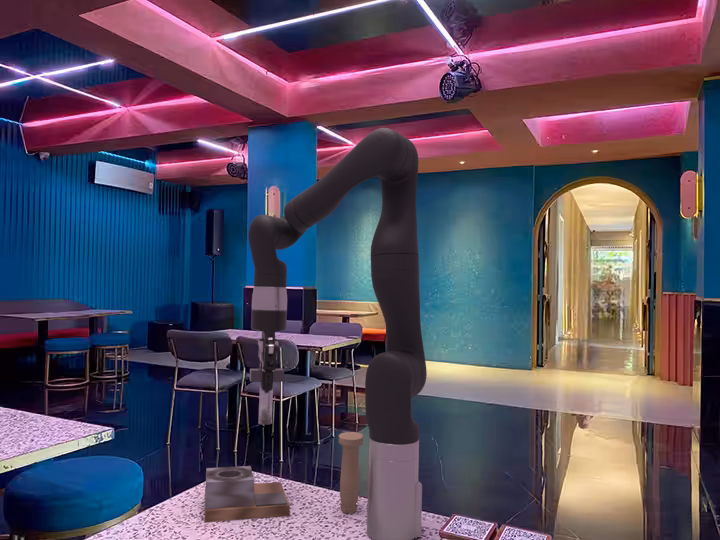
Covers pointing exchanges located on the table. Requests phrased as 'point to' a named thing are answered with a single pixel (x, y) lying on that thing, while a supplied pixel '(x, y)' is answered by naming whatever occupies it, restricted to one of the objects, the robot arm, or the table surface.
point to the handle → (350, 470)
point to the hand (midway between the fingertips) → (266, 388)
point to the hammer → (266, 394)
